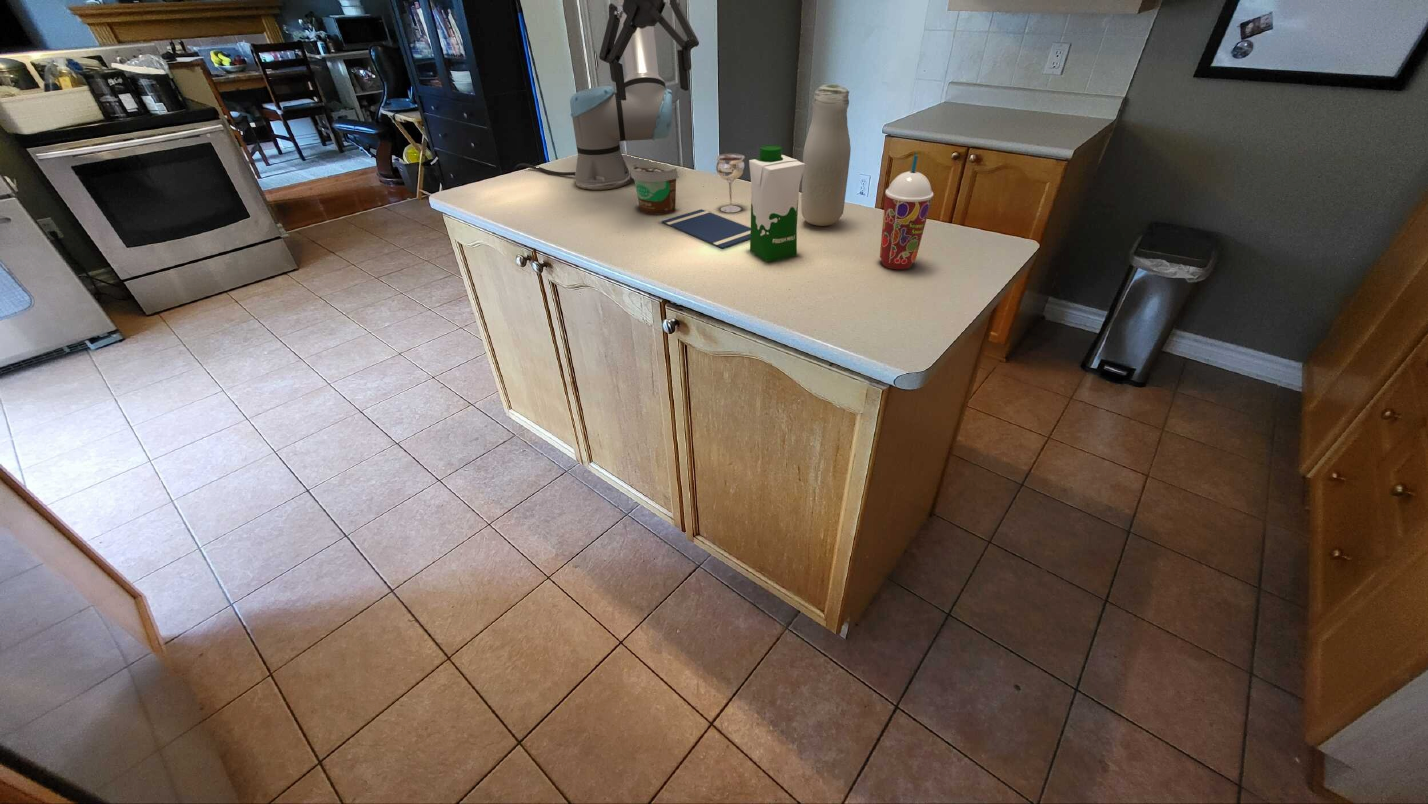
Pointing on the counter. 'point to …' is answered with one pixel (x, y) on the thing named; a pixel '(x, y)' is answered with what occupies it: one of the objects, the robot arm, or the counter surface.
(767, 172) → the milk carton
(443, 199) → the counter surface
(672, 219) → the cloth
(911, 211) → the smoothie
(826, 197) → the glass bottle
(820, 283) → the counter surface
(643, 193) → the food container
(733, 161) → the wineglass
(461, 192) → the counter surface
